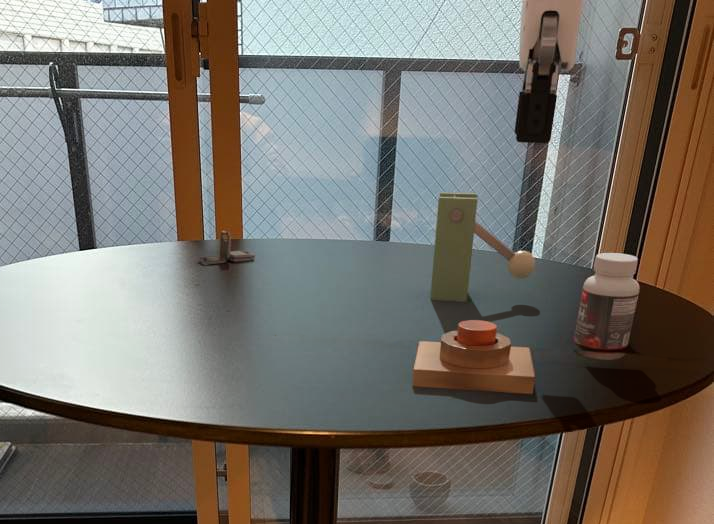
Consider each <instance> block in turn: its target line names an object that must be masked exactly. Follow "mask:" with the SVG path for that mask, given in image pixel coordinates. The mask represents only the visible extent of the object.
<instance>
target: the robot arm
mask: <svg viewBox="0 0 714 524" xmlns="http://www.w3.org/2000/svg"><path fill="white" fill-rule="evenodd" d="M583 2H584V0H522V4H521V15H520V27H519V50H518V51H519V52H518V55H519V57H518V58H519V64H518V65H519V68H520V69H521V70H523V71H524V73H523V80H522V87H521V91H519V93H518V94H519V95H518V102H517V108H516V116H515V117H516V118H515V124H514V134H515V140H516V141H517V143H523V144H524V143H526V144H527V143H528V144H548V143H550V141H551V139H552V132H553V128H554V127H553V126H554V119H555V113H556V106H557V100H558V95H557V94H556V93H557V86H558V78H559V77H558V76H559V75H558V74H559V67H560V71H561V72H570V70H572V69H573V68H574V66H575V59H576V54H577V53H576V51H577V45H578V37H579V29H580V22H581V16H582V8H583ZM559 65H560V66H559Z"/></svg>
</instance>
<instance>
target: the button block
mask: <svg viewBox="0 0 714 524" xmlns="http://www.w3.org/2000/svg"><path fill="white" fill-rule="evenodd" d="M457 331H458V329H457V330H451V331H449V332H446V333H443V334H442V335H441V339H440V341H425V340H424V341H423V340H419V341H418V345H417V350H416V355H415V360H414V365H413V371H412V382H411V383H412V384H411V385H412V387H421V388H433V389H434V388H437V389H449V390H450V389H452V390H465V391H466V390H467V391H478V392H479V391H481V392H495V393H509V394H511V393H512V394H525V395H533V394H534V388H535V381H536V373H535V369H534V363H533V359H532V353H531V350H530V347H525V346H524V347H523V346H512V341H511V338H509V337H507V336H505V335H504V334H502V333H499V332H496V338H495V344H494V345H490V346H470V345H465V344H461V343H458V342H457Z"/></svg>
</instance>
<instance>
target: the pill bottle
mask: <svg viewBox="0 0 714 524" xmlns="http://www.w3.org/2000/svg"><path fill="white" fill-rule="evenodd" d="M638 263H639V259H638V257H637V256H635V255H632V254H627V253H620V252H602V253H598V254H596V255H595V258H594V262H593V272H595V273H594V275H592V276H589V277H587V279H586V280H585V281H584V283H583V287H582V292H581V299H580V305H579V310H578V314H577V320H576V326H575V330H574V335H573V336H574V337H573V341H574V342H575V343H576V344H578V345H580V346H583V347H586V348H590V349H596V350H608V351H596V350H595V351H594V350H578V349H573V353H575V354H576V355H578V356H580V357H583V358H587V359H591V360H592V359H593V360H598V361H614V360H618V359H621V358H623V357H624V356H626V353H625V352H614V351H613V350H621V349H625V348H626V347H628V344H629V340H630V335H631V331H632V326H633V322H634V317H635V312H636V307H637V303H638V299H639V295H640V289H641V287H640V284H639V282H638V281H637V280H636V279H634V278H633V276H634V275H635V274H636V271H637V267H638ZM611 350H612V351H613V352H611Z"/></svg>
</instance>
